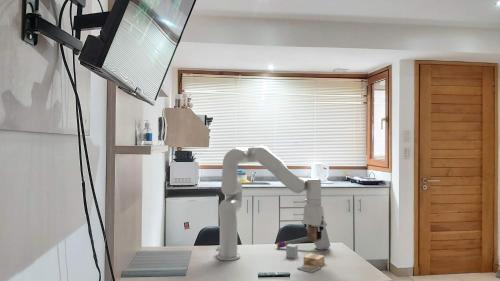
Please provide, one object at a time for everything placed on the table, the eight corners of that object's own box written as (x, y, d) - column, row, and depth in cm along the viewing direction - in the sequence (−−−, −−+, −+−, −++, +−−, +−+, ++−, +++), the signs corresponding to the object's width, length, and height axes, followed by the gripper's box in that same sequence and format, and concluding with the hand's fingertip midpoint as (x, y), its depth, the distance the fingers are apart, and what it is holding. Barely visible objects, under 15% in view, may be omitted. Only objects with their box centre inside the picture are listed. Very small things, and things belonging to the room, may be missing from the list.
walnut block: (307, 240, 185) (307, 226, 185) (312, 238, 189) (312, 225, 189) (315, 241, 182) (315, 227, 182) (321, 240, 185) (320, 226, 186)
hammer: (274, 235, 210) (324, 222, 209) (273, 232, 218) (322, 220, 217) (280, 260, 210) (331, 248, 208) (280, 256, 217) (328, 244, 216)
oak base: (303, 264, 184) (303, 256, 184) (310, 260, 190) (310, 253, 190) (318, 267, 179) (318, 259, 179) (324, 263, 186) (324, 255, 186)
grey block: (286, 257, 196) (286, 245, 197) (288, 254, 201) (288, 243, 201) (295, 258, 195) (295, 246, 195) (297, 255, 199) (297, 244, 199)
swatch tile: (297, 269, 176) (297, 267, 176) (306, 265, 182) (306, 263, 182) (311, 272, 170) (311, 271, 170) (320, 268, 176) (320, 267, 176)
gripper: (295, 201, 189) (296, 236, 188) (324, 204, 177) (325, 242, 177) (304, 200, 194) (304, 234, 194) (332, 203, 183) (332, 239, 182)
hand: (314, 237), depth 185 cm, fingers closed on walnut block, 5 cm apart
